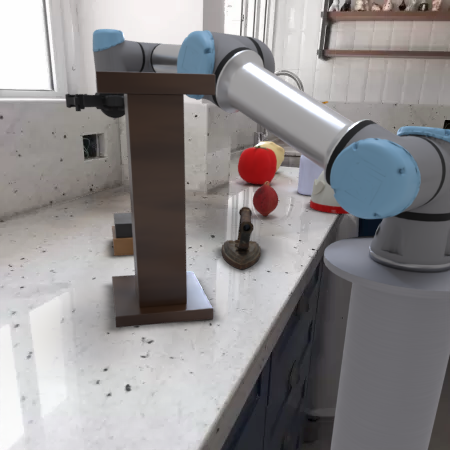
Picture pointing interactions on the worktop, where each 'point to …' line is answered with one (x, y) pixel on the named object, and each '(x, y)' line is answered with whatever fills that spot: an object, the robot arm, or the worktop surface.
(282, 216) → the worktop surface
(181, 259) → the stand
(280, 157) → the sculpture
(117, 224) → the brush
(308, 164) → the soap bottle
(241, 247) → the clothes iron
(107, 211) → the worktop surface
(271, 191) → the onion
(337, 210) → the kitchen timer
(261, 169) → the tomato
